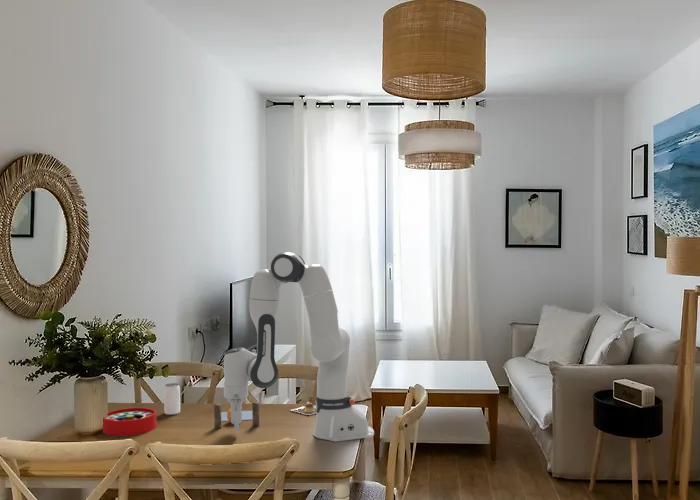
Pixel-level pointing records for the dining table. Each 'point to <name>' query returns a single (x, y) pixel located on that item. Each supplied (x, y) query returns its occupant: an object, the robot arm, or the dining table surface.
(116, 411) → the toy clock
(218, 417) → the left post
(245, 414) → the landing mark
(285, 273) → the robot arm
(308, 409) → the dessert
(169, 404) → the can
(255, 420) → the right post
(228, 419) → the ball
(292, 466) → the dining table surface
